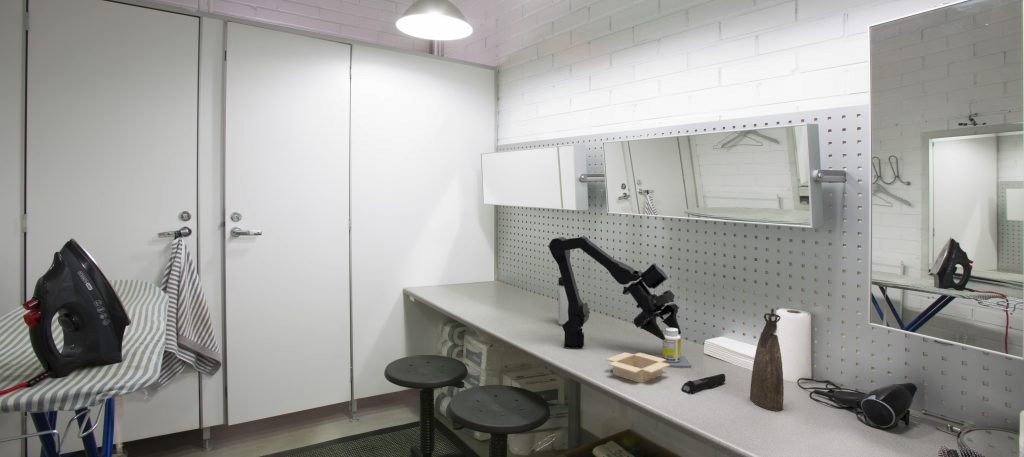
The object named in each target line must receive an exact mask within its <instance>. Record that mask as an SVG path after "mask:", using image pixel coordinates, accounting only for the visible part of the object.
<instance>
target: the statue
mask: <svg viewBox="0 0 1024 457" xmlns="http://www.w3.org/2000/svg"><path fill="white" fill-rule="evenodd" d="M774 312H775V310H774V308H771V309H770V312H769V313H768V312H767V313H764V315H763V318H764V321H765V325H764V326H763V329H762V331H761V333H760V335H759V338H758V341H757V346H756V350H755V354H754V359H753V365H752V372H751V380H750V387H749V388H750V389H749V390H750V391H749V398H750V400H751V401H752V402H753V403H754V405H756V406H759V407H760V408H763V409H766V410H771V411H774V412H775V411H777V412H780V411H781V410H783V407H784V393H785V392H784V391H785V390H784V389H785V388H784V371H783V359H782V354H781V353H782V352H781V345H780V342H779V337H778V335H777V334H775V333H776V332H777V331H778V330H777V329H778V324H777V323H779V321H781V315H778V314H776V313H774ZM767 316H768V319H767ZM772 317H774V320H773V319H772Z"/></svg>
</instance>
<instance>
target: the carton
mask: <svg viewBox="0 0 1024 457" xmlns="http://www.w3.org/2000/svg"><path fill="white" fill-rule="evenodd" d="M606 361H608V362H609V363H608V364H607V365H608V366H610V367H613V375H614V376H617V377H621V378H625V379H628V380H631V381H634V382H637V383H640V384H643V383H646V382H648V381H650V380H653V379H654V378H657V377H659V376H661V375H662V370H663V369H665V368H669V367H668V366H670V364H667V363H663V362H665V361H666V359H663V358H659V357H655V356H654V355H650V354H647V353H643V352H637V353H634V354H633V353H629V352H625V351H624V352H622V353H619V354H617V355H614V356H610V357H609V358H606Z"/></svg>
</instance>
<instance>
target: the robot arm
mask: <svg viewBox="0 0 1024 457" xmlns="http://www.w3.org/2000/svg"><path fill="white" fill-rule="evenodd" d="M577 249H580V250H581V251H583V253H585V254H587V255H588V256H589V257H590V258H592V259H593V260H595V261H596V262H597V263H599V264H600V265H601V266H603V268H605V269H606V270H607V271H608V273H609V275H611V276H612V278H613V279H614V280H615V281H616V282H617V283H618V284H619V285H622V286H623V290H622V295H625V296H626V295H627V296H628V295H630V296H631V297H632V298H633V299H634V302H636V306H635V307H636V308H637V309H640V310H641V311H640V313H639V314H638V315H636V316H635V317H634V318H633V325H635V327H636V328H639V329H640V330H644V331H646V332H647V333H650V334H651V335H654V336H655V337H657V338H658V339H659V340H662V341H663V340H664V339H665V336H664V334H665V333H664V332H663V331H662V330H661V328H660V326H659V325H658V322H657V318H660V319H661V320H662V321H661V322H662V323H663V324H664V325H666V326H667V328H676V329H678V335H680V336H681V334H682V332H681V329H680V325H679V323H678V319H677V315H678V312H679V309H680V308H679V306H678V305H677V304H676V303H674V302H675V294H674V293H673V292H672V291H671V289H669V290H665V291H663V294H660V295H657V294H656V293H654V294H652V292H651V291H650V290H649V289H653V290H656V289H657V288H658V287H659V286H661V285H662V284H663V283H664V282H665V281H666V280H668V278H669V277H668V275H667V274H666V273H665V271H664V270H663V269H661V268H660V266H658V265H656V264H655V263H652V264H650V266H649V267H648V268H647V269H646V270H645V271H639V270H635V268H633V267H631V266H630V265H628V264H626V263H624V262H622V261H620V260H617V259H616V258H613V257H612V256H611V255H610V254H608V253H607V252H605V251H604V250H603V249H601V248H600V247H599V246H598V245H597V244H595V242H592V241H591V240H590V239H589V238H588V237H587V236H579V237H570V238H566V237H564V236H559V237H555V238H553V239H551V240H550V241H549V244H548V250H549V251H550V255H551V256H552V258H553V259H554V261H555V262H556V264H557V265H558V269H559V274H560V277H562V281H563V285H564V288H565V292H566V296H567V299H568V319H569V320H568V321H567V322H566V323H564V324H563V325H562V326H561V327H562V329H563V332H564V344H563V349H583V348H584V346H585V332H583V327H584V325H585V324H586V323H587V322H588V320H590V319H589V318H590V314H591V312H590V310H589V305H588V302H587V301H586V302H583V301H582V299H581V297H580V293H579V289H578V285H577V283H576V279H575V275H574V271H573V268H572V264H571V251H572V250H577ZM625 285H628V286H625Z"/></svg>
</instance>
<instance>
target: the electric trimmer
mask: <svg viewBox="0 0 1024 457" xmlns="http://www.w3.org/2000/svg"><path fill="white" fill-rule="evenodd" d="M725 382H726V375H725V373H720V374H716V375H711V376H706V377H704V378H700V379H695V380H688V381H687V382H684V383H683V385H681V389H680V390H681V392H682V393H685V394H688V395H694V394H695V392H698V391H702V390H704V389H712V388H716V387H717V386H719V385H722V384H724V383H725Z"/></svg>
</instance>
